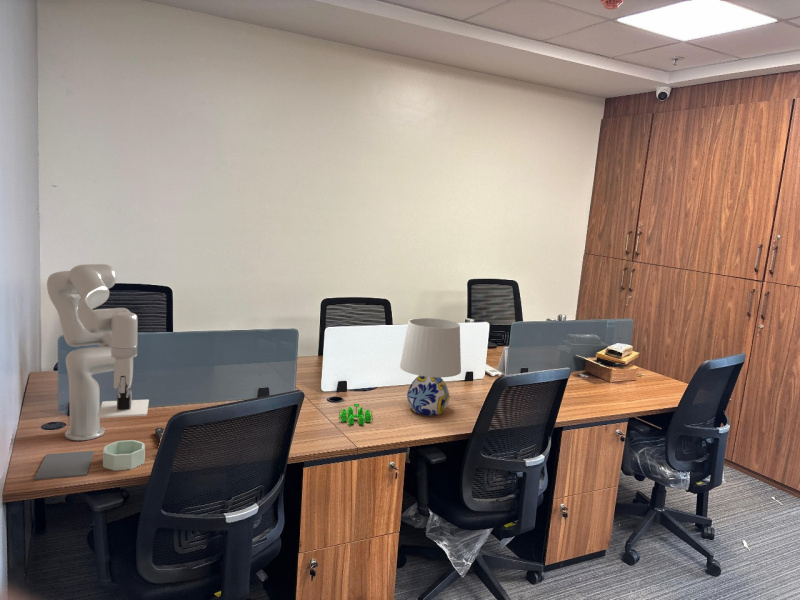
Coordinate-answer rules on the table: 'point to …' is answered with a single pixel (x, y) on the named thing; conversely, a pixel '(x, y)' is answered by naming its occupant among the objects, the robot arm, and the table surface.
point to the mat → (65, 465)
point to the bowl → (124, 455)
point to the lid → (112, 410)
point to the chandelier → (351, 416)
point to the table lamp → (431, 362)
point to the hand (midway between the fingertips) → (124, 405)
